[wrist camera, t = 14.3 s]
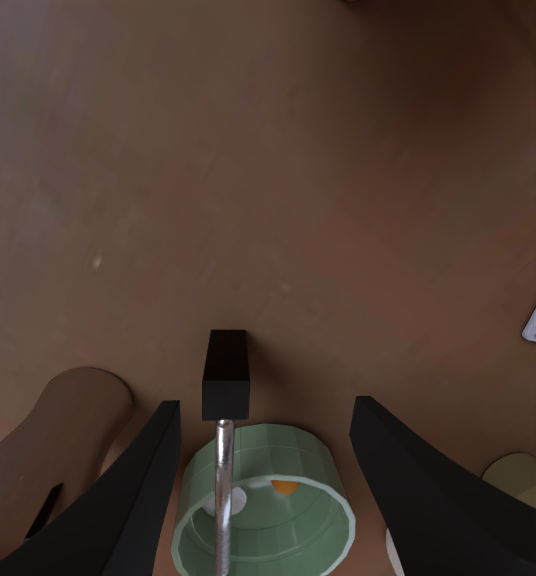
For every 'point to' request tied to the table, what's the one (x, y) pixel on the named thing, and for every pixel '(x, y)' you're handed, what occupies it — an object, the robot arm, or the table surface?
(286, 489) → the orange ball
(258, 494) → the soup bowl
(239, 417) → the ladle
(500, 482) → the squeeze bottle
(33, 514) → the beer glass
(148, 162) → the table surface
